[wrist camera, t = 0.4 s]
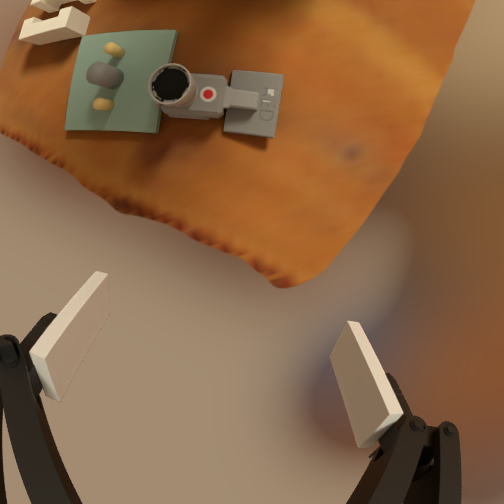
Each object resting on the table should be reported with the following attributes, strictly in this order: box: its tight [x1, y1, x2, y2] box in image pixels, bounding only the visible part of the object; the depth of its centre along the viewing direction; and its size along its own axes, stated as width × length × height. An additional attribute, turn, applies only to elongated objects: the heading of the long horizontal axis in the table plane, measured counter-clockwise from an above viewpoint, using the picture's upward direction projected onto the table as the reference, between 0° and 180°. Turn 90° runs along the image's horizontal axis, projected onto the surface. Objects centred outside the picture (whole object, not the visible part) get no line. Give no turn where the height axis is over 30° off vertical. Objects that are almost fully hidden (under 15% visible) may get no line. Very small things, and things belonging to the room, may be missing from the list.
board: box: [65, 30, 178, 133], centre depth 29 cm, size 15×15×7 cm
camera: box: [148, 63, 284, 139], centre depth 29 cm, size 9×12×15 cm
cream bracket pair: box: [19, 0, 97, 45], centre depth 23 cm, size 10×10×6 cm
